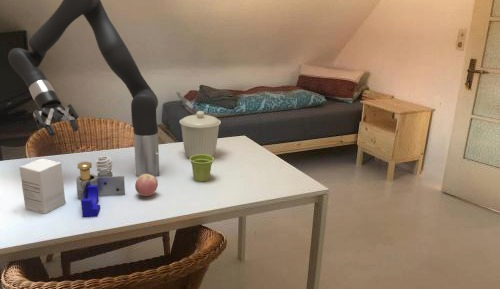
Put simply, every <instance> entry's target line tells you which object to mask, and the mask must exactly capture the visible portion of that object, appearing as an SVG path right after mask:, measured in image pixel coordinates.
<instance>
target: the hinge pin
mask: <svg viewBox="0 0 500 289" xmlns="http://www.w3.org/2000/svg"><path fill="white" fill-rule="evenodd" d="M76 166H77V167H76V168H77V169H78V170H79V176H80V178H81V180H82V181H89V180H91V179H90V174H91V170H90V169H91V168H92V163H91V162H90V161H82V162H78V163H77V164H76Z"/></svg>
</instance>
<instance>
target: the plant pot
mask: <svg viewBox="0 0 500 289" xmlns="http://www.w3.org/2000/svg"><path fill="white" fill-rule="evenodd" d="M214 160H215V159H214V156H213V157H212V156H210V155H204V154H199V155H194V156H191V157H190V158H189V161H190V164H191V168H192V175H193V180H194V181H196V182H199V183H201V182H208V181H209V180H210V176H211V170H212V164H213V162H214Z"/></svg>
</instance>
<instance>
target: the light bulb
mask: <svg viewBox="0 0 500 289" xmlns="http://www.w3.org/2000/svg"><path fill="white" fill-rule="evenodd" d="M95 162H96V163H95V165H96V166H95V167H96V171H97V172H98V173H97V174H96V175H97V176H98V177H110V176H113V172H112V169H113V162H112V158H111V157H110V156H108V155H100V156H98V157H97V159H96V161H95Z"/></svg>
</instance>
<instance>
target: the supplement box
mask: <svg viewBox="0 0 500 289" xmlns="http://www.w3.org/2000/svg"><path fill="white" fill-rule="evenodd" d="M19 172H20V173H19V174H20V181H21V187H22V188H21V189H22V194H23V202H24V209H26V210H29V211H33V212H37V213H40V214H44V215H46V214H48V213H50V212H51V211H53V210H55V209H57V208H59V207H61V206H63V205H65V204H66V195H65V186H64V178H63V170H62V163H61V162H59V161H54V160H49V159H46V158H39V159H37V160H34V161H31V162H28V163H26V164H23V165H20V166H19Z"/></svg>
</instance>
